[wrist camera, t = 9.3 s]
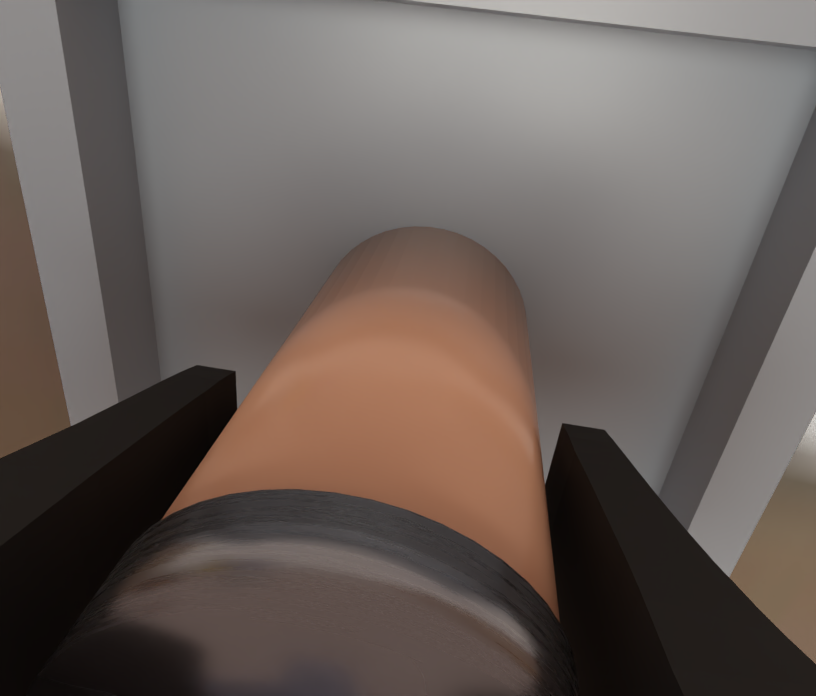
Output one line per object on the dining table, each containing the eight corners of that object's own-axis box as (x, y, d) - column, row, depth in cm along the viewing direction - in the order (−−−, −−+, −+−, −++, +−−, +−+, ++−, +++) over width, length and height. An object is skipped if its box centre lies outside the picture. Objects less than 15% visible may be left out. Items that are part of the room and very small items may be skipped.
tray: (151, 501, 17) (100, 570, 15) (65, -113, 10) (-50, -153, 8) (652, 590, 16) (677, 676, 14) (923, -24, 9) (1052, -41, 7)
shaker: (317, 403, 14) (83, 888, 6) (314, 210, 12) (-57, 569, 4) (514, 428, 14) (540, 981, 6) (549, 233, 11) (672, 684, 3)
